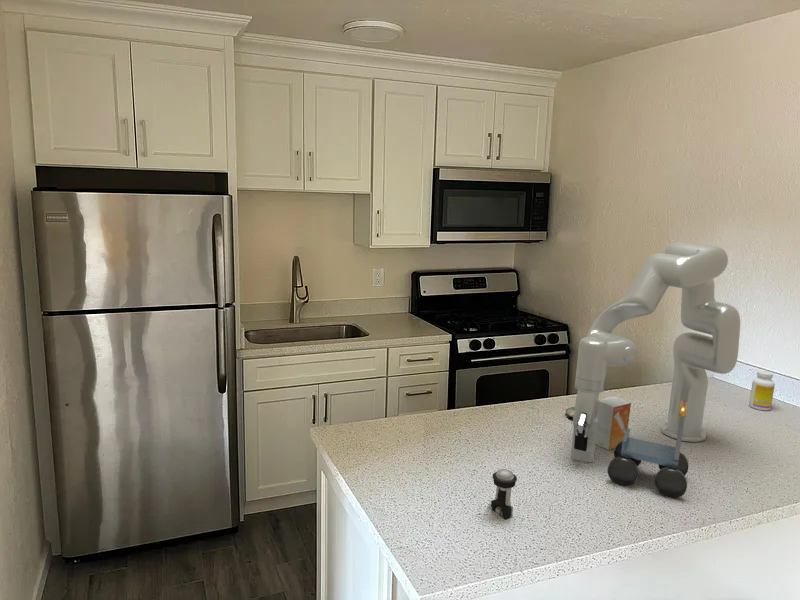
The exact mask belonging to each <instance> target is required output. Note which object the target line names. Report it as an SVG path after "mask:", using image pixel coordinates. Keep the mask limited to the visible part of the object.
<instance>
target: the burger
mask: <svg viewBox="0 0 800 600" xmlns="http://www.w3.org/2000/svg"><path fill="white" fill-rule="evenodd" d="M574 410H575V406H571V407H568V408H566V410H565V414H564V415H565V416H567V417H566V419H567V418H568V419H569V418H572V419H573V417H574Z"/></svg>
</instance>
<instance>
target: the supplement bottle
mask: <svg viewBox="0 0 800 600" xmlns="http://www.w3.org/2000/svg"><path fill="white" fill-rule="evenodd" d="M756 376H757V377H754V378H753V379H752V384H751V390H750V396H749V401H748V402H749V404H748V405H749V407H751V408H752V409H754V410H758V411H763V412H765V411H770V410H771V409H772V404H773V398H774V391H775V382H774V380H772V379H773V376H774V373H773V372H770V371H767V370H757V372H756Z"/></svg>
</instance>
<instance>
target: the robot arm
mask: <svg viewBox="0 0 800 600" xmlns="http://www.w3.org/2000/svg"><path fill="white" fill-rule="evenodd" d="M728 263H729V256H728V253H727V252H726V250H725V249H723V248H722V247H720V246H716V245H709V244H702V243H701V244H700V243H694V242H686V241H675V242H671V243H670V244H668V245H667V246H666V248H665V250H664V252H663V253H662V252H658V253H652V254H651V255H649V256H648V257H647V258H646V259H645V261H644V262H643V264H642V266H641V268H640V269H639V271H638V273H637V275H636V277H635V278H634V280H633V282H632V283H631V285H630V287H629V289H628V291H627V293H626V294H625V296H624V297H622V298H621V299H620V300H618V301H616V302H614V303H613V304H611V305H610V306H608V307H607V308H606V309H604V310H603V311H602V312H601V313H600V314H599V315H597V317H596V319H594V321H593V324H592V325H591V327H590V328H589V331H588V332H587V335H586V336H584V337H583V338H580V341H579V344H578V350H577V351H578V353H577V362H576V363H577V364H576V371H575V373H576V374H575V381H574V382H575V383H574V388H575V390H577V392H576V396H575V403H574V407H575V410H574V417H573V418H572V425H573V427H574V426H575V425H577V424H578V426H577V430H576V434H575V443H574V449H577V450H581V451H586V450H587V442H588V437H587V433H588V428H591V427H592V425H593V422H594V419H595V417H596V415H597V409H598V401H599V400H600V394H602V393H604V392H605V385H606V376H607V368H608V366H619V367H623V366H627V365H629V364H631V363H633V362H634V361H635V359H636V358H637V356H638V348H637V345H636V344H635V342H633V341H632V340H630V339H628V338H626V337H623V336H619V335H617V334H614V333H612V332H613V331H614V329H615V328H616V327H617V326H618V325H620V324H622V323H623V322H625V321H627V320H630V319H635V318H639V317H643V316H648V315H651V314H653V313H654V312H655V311H656V309H657V308H658V306H659V304H660V302H661V300H662V298H663V297H664V295H665V293H666V292H667V290H668V288H669V287H674V288H679V289H681V303H680V321H681V324H682V326H684V327H685V328H686V329H689V330H692V331H695V332H683V333H681V334H679V335H677V337H676V339H675V340H674V342H673V348H672V349H673V350H672V351H673V376H672V382H671V384H672V385H671V391H670V397H669V398H670V399H669V405H668V406H669V407H668V414H667V421H666V422H665V423H663V424H661V425H660V431H661V433H663V434H664V435H665V436H668V437H669V438H672V439H675V440H677V434H678V427H679V419H680V416H679V409H680V402H681V401H686V402H687V412H686V417H684V424H683V432H682V439H681V442H682V441H684V442H689V443H698V442H703V441H705V440H706V439H707V433H706V432H705V431H704V430H703V429H702V428H703V419H704V412H705V406H706V398H707V392H708V386H709V379H708V378H709V377H708V375H707V371H709V372H712V373H715V374H720V375H724V374H728V373H730V372H732V371H733V370H734V368H735V367H736V365H737V362H738V357H739V346H740V337H741V335H740V333H741V316H740V313H739V311H738V309H737V308H736V307H735V306H733V305H731V304H728V303H724V302H719V301H716V300H715V281H714V279H715V278H718V277H720V275H721V274H723V273H724V271H725V270H726V268H727V266H728ZM697 332H699V333H697ZM701 333H703V334H701ZM705 334H707V335H705ZM708 335H710V336H708ZM586 416H587V418H586ZM584 424H587V425H584ZM584 428H585V429H586V430H584Z"/></svg>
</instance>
